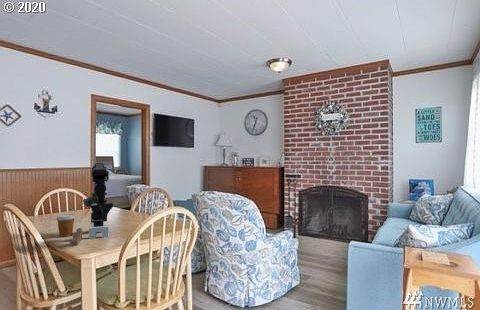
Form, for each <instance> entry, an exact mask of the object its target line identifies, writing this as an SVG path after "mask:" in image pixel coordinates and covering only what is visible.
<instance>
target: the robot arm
mask: <svg viewBox="0 0 480 310" xmlns="http://www.w3.org/2000/svg"><path fill="white" fill-rule="evenodd" d="M90 173H91V177H92V178H91V179H92V180H91V181H92V183H93V192H92V193H91V196H88V197H87V198H85V199H82V202H83V203H82V204H83V205H84V206H85V207H87V208H90V209H91V214H90V220H91V221H90V224H93V226H92V227H100V226H105V225H104V222H108V215H109V213H110V211H111V210H112V209H113V208H114V203H113V202H112V201H111V202H110V201H107V199H106V196H107V195H108V193H107V186H106V182H108V180H109V176H110V175H109V171H108V170H107V167H106V166H105V164H104V163H103V162H95V163H94V165H93V166H92V167H91V172H90ZM98 233H99V232H96V234H98Z"/></svg>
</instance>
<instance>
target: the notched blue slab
mask: <svg viewBox="0 0 480 310" xmlns="http://www.w3.org/2000/svg"><path fill="white" fill-rule="evenodd" d="M88 229H89V230H88V239H96V238H97V233H96V232H98V233H101V238H102V239H103V238H109V234H110V233H109V229H110V228H109V225H104V226H100V227H93V226H90V227H89V228H88Z"/></svg>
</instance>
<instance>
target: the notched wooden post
mask: <svg viewBox="0 0 480 310" xmlns="http://www.w3.org/2000/svg"><path fill="white" fill-rule="evenodd" d="M73 232H74V233H72V247H75V246H78V245H79V244H80V242H81V240H82V239H83V228H82V227H77V228H76V231H73Z"/></svg>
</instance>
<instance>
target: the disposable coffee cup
mask: <svg viewBox="0 0 480 310" xmlns="http://www.w3.org/2000/svg"><path fill="white" fill-rule="evenodd" d="M55 219H56V220H57V228H58V233H59V237H61V238H66V237H67V238H68V237H70V236H73V232H74V231H73V230H74V222H75V219H76V215H75V214H74V213H64V214H59V215H57V216H56V218H55Z"/></svg>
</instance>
